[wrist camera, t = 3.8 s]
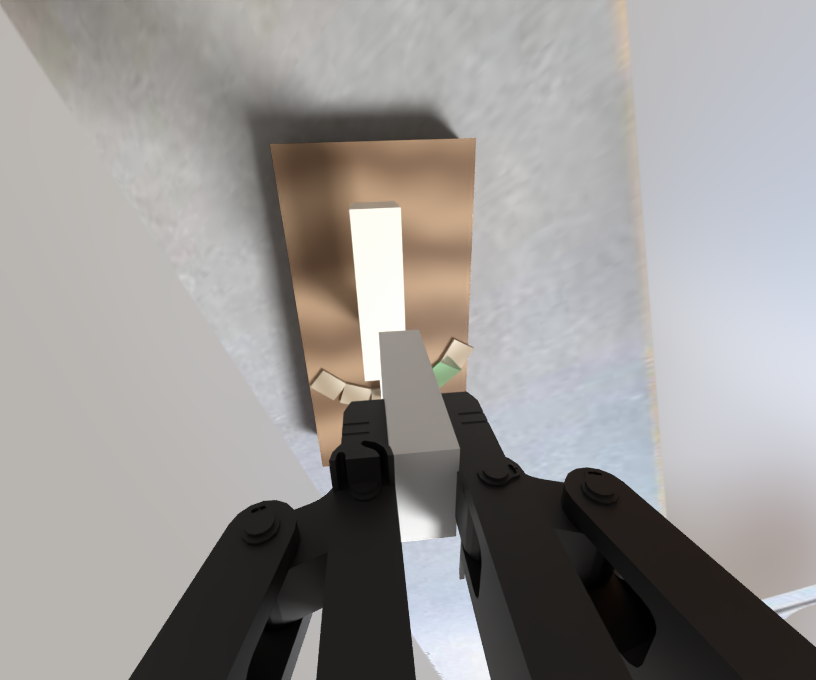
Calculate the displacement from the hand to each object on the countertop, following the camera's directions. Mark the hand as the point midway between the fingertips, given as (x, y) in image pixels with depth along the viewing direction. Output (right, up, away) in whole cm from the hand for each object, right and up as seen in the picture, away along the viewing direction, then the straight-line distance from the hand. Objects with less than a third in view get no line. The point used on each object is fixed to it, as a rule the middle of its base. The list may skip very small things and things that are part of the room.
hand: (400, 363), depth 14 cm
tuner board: (-2, +3, +21) cm, 21 cm away
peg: (-2, +3, +17) cm, 17 cm away
